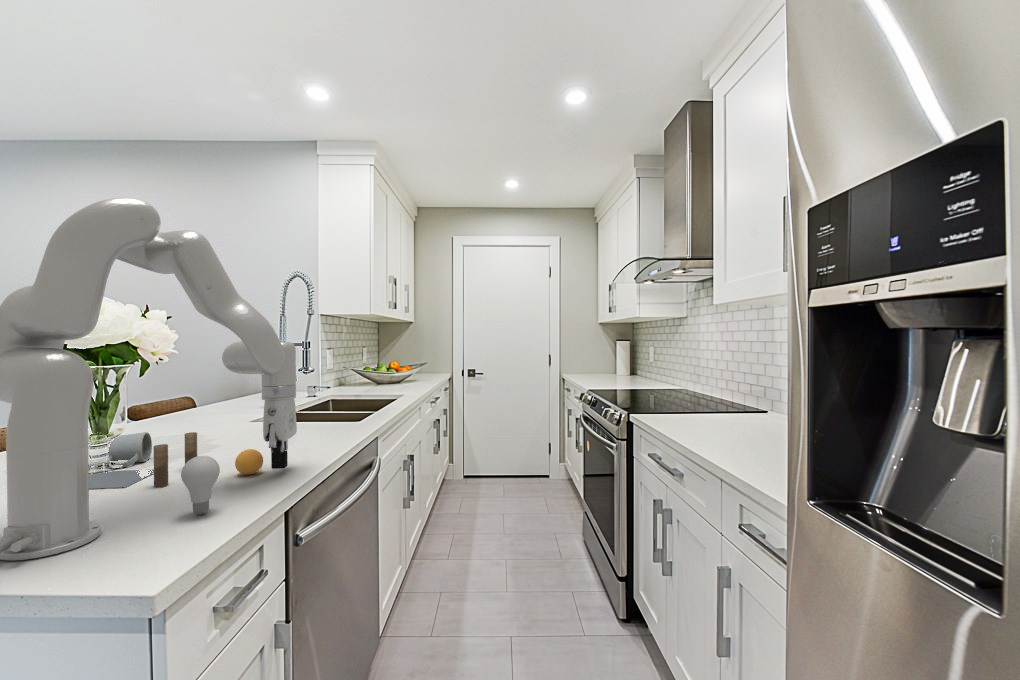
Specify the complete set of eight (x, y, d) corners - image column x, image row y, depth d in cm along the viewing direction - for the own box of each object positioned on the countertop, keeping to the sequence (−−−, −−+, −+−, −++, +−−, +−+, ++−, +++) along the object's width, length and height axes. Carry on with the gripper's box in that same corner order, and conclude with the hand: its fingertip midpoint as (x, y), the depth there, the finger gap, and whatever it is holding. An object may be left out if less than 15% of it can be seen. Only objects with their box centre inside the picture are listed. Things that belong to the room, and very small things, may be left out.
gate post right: (194, 470, 119) (193, 434, 119) (182, 471, 119) (182, 434, 118) (199, 467, 121) (199, 432, 121) (188, 468, 121) (187, 432, 121)
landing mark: (125, 487, 106) (125, 487, 106) (53, 491, 103) (53, 490, 103) (161, 469, 119) (161, 469, 119) (98, 472, 117) (98, 471, 117)
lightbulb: (227, 509, 93) (226, 452, 93) (204, 521, 87) (203, 460, 87) (198, 507, 94) (197, 451, 93) (173, 520, 88) (172, 460, 87)
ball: (258, 477, 113) (257, 452, 113) (230, 478, 112) (230, 453, 112) (267, 470, 119) (266, 446, 119) (241, 471, 118) (240, 446, 118)
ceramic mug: (116, 460, 129) (115, 431, 128) (153, 457, 132) (152, 429, 131) (98, 471, 119) (97, 440, 119) (138, 468, 122) (137, 438, 121)
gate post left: (164, 487, 106) (163, 446, 106) (151, 488, 106) (150, 447, 105) (170, 483, 108) (170, 444, 108) (158, 484, 108) (157, 444, 108)
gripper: (284, 396, 110) (285, 476, 110) (304, 388, 124) (304, 459, 125) (250, 396, 109) (250, 477, 109) (273, 389, 123) (274, 460, 124)
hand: (279, 467), depth 117 cm, fingers closed
